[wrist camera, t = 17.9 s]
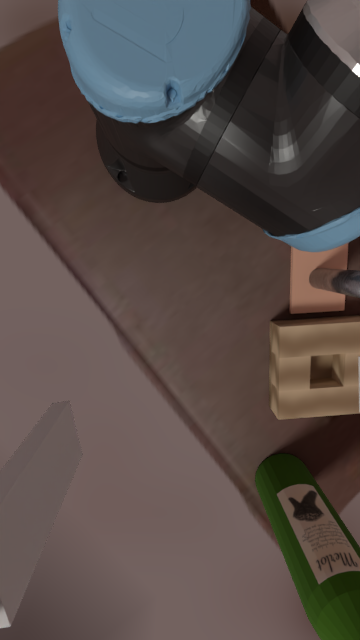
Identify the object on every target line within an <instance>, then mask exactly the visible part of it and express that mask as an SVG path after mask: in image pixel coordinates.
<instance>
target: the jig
mask: <svg viewBox="0 0 360 640" xmlns="http://www.w3.org/2000/svg"><path fill="white" fill-rule="evenodd" d="M358 356H360V315H353V316H337V317H322V318H306V319H291V320H276V321H270V373H269V407H270V408H271V410H272V411H273V412H274V414H275V415H276V417H277V418H278V420H280V419H293V418H306V417H319V416H332V415H345V414H358V413H360V412H359V367H358Z"/></svg>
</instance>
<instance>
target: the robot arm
mask: <svg viewBox="0 0 360 640" xmlns="http://www.w3.org/2000/svg"><path fill="white" fill-rule="evenodd" d="M58 17H59V26H60V32H61V37H62V41H63V44H64V48H65V51H66V54H67V56H68V59H69V62H70V66H71V72H72V75H73V78H74V80H75V82H76V84H77V86H78V87H79V88H80V90H81V93H82V94H83V95H85V97H86V100H87V101H88V103H89V105H90V106H91V108H92V110H93V112H94V114H95V116H96V118H97V121H96V138H97V144H98V149H99V153H100V156H101V158H102V161H103V163H104V165H105V167H106V169H107V170H108V172H109V173H110V175H111V176H112V178H113V179H114V180H115V181H116V183H117V184H118V185H119V186H120V187H121V188H122V189H124V190H125V191H126V192H128V193H129V194H131V195H132V196H134V197H136V198H139V199H141V200H144V201H148V202H155V203H164V202H171V201H174V200H177V199H180V198H182V197H184V196H186V195H188V194H189V193H191V192H192V191H193V190H194V189H195V188H199V189H200V190H202V191H204V192H205V193H207V194H208V195H210V196H212V197H213V198H215V199H216V200H218V201H219V202H221V203H223V204H224V205H226V206H227V207H229V208H230V209H232V210H234V211H235V212H237V213H238V214H240V215H242V216H243V217H245V218H246V219H248V220H249V221H251V222H253V223H254V224H256V225H257V226H259V227H261V228H262V229H263V231H264V233H266V234H267V235H268V236H270V237H272V238H276V239H279V240H282V241H283V242H285V243H287V244H289V245H290V246H292V247H294V248H296V249H298V250H301V251H307V252H322V251H327V250H331V249H334V248H337V247H339V246H342V245H344V244H346V243H348V242H350V241H352V240H354V239H356V238H357V237H359V236H360V0H307V2H306V3H305V5H304V7H303V9H302V11H301V12H300V14H299V16H298V18H297V20H296V21H295V23H294V25H293V27H292V29H291V30H290V32H289V33H288V34H286V33H284V32H283V31H282V30H281V29H279V28H278V27H276V26H275V25H274V24H273V23H271V22H270V21H269V20H267V19H266V18H265V17H263V16H262V15H261V14H260V13H258V12H257V11H256V10H254V9H253V8H252V7H251V5H250V0H58ZM280 30H281V31H280ZM358 367H359V412H360V356H358ZM81 457H82V451H81V446H80V442H79V438H78V433H77V429H76V425H75V421H74V417H73V413H72V409H71V404H70V401H63V402H57V403H52V404H51V406H50V407H49V408H48V410H47V411H46V412H45V414H44V415H43V416H42V417H41V419H40V420H39V421H38V423H37V424H36V425H35V427H34V428H33V429H32V430H31V432H30V433H29V434H28V436H27V437H26V438H25V439H24V441H23V442H22V444H21V445H20V446H19V447H18V449H17V450H16V451H15V452H14V454H13V455H12V456H11V458H10V459H9V460H8V462H7V463H6V464H5V466H4V467H3V468H2V470H1V471H0V628H4V627H11V624H12V622H13V619H14V617H15V615H16V612H17V610H18V607H19V605H20V603H21V600H22V598H23V595H24V593H25V591H26V588H27V586H28V584H29V581H30V579H31V576H32V574H33V571H34V569H35V567H36V564H37V562H38V560H39V557H40V555H41V552H42V550H43V548H44V545H45V543H46V541H47V538H48V536H49V533H50V531H51V529H52V526H53V524H54V521H55V519H56V517H57V514H58V512H59V509H60V507H61V505H62V502H63V500H64V497H65V495H66V493H67V490H68V488H69V485H70V483H71V481H72V478H73V476H74V473H75V471H76V469H77V466H78V464H79V461H80V459H81Z"/></svg>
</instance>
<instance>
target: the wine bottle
mask: <svg viewBox="0 0 360 640" xmlns="http://www.w3.org/2000/svg"><path fill="white" fill-rule="evenodd" d="M255 482H256V487H257V490H258V492H259V495H260V497H261V500H262V502H263V505H264V507H265V510H266V513H267V515H268V518H269V520H270V523H271V525H272V528H273V530H274V533H275V535H276V538H277V541H278V543H279V546H280V548H281V551H282V553H283V556H284V558H285V561H286V563H287V566H288V569H289V571H290V573H291V576H292V579H293V581H294V583H295V586H296V589H297V591H298V594H299V597H300V599H301V602H302V604H303V607H304V609H305V612H306V614H307V617H308V619H309V621H310V622H311V624H312V626H313V628H314V629H315V631H316V632H317V634H318V636H319V637H320V639H321V640H360V547H359V545H358V544H357V542H356V541H355V539H354V538H353V536H352V535H351V533H350V532H349V531H348V529H347V527H346V526H345V524H344V523H343V521H342V520H341V518H340V517H339V515H338V514H337V512H336V511H335V509H334V508H333V506H332V505H331V503H330V502H329V500H328V499H327V497H326V496H325V494H324V493H323V491H322V490H321V488H320V487H319V485H318V484H317V482H316V481H315V479H314V478H313V476H312V475H311V473H310V472H309V470H308V469H307V467H306V466H305V464H304V463H303V462H302V461H301V460H300V459H299V458H297V457H295V456H293V455H290V454H286V453H280V454H275V455H272V456H270V457H268V458H266V459H265V460H264V461H263V462H262V463H261V464H260V465H259V467H258V469H257V471H256V477H255Z"/></svg>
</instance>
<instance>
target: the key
mask: <svg viewBox="0 0 360 640" xmlns="http://www.w3.org/2000/svg"><path fill="white" fill-rule="evenodd" d="M309 283H310V285H311V286H312V287H314V288H316V289H321V290H325V291H330V292H335V293H339V294H344V295H349V296H353V297H358V298H360V271H356V270H343V269H330V268H316V269H314V270H313V271H312V272H311V274H310V276H309Z"/></svg>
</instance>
